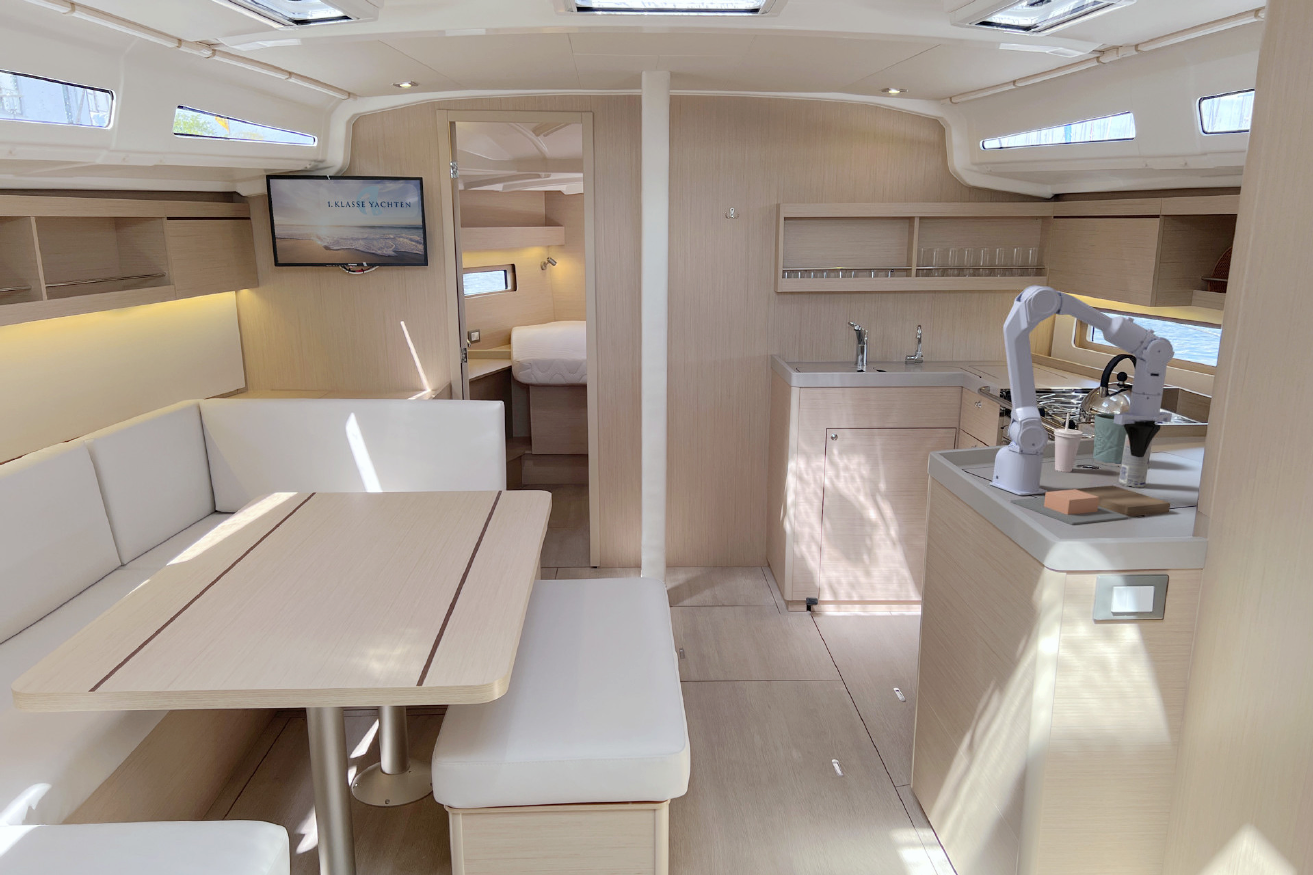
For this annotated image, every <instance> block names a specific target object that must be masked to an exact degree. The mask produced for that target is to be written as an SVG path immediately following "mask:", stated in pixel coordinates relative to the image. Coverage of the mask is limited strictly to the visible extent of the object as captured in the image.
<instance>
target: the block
mask: <svg viewBox="0 0 1313 875" xmlns="http://www.w3.org/2000/svg"><path fill="white" fill-rule="evenodd" d="M1073 489H1074V490H1071V489H1066V490H1054V491H1052V490H1051V491H1048V492H1046V493H1044V494H1045V495H1044V497H1045V502H1044V506H1045V507H1047V508H1050V509H1053V510H1056V511H1059V512H1061V513H1064V514H1067V515H1069V514H1078V513H1088V512H1097V509H1098V503H1099V497H1097V496H1094V495H1091V494H1088V493H1085V492H1082V491H1079V490H1076V489H1077V488H1073Z"/></svg>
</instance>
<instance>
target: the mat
mask: <svg viewBox="0 0 1313 875" xmlns="http://www.w3.org/2000/svg"><path fill="white" fill-rule="evenodd" d="M1010 502H1011V503H1012V504H1016V505H1018V506H1020V507H1022V508H1026V509H1027V510H1028V509H1029V510H1031V511H1034V512H1037V513H1040V514H1042V515H1045V516H1047V517H1050V518H1053V519H1056V520H1058V521H1061V522H1063V523H1066V524H1069V525H1071V526H1073V525H1074V526H1075V525H1085V524H1092V523H1102V522H1111V521H1112V522H1113V521H1119V520H1127V519H1130V517H1129V516H1126V515H1123V514H1120V513H1117V512H1114V511H1111V510H1108V509H1105V508H1102V507H1099V506H1098V509H1097V512H1088V513H1078V514H1069V515H1067V514H1064V513H1061V512H1059V511H1056V510H1053V509H1050V508H1047V507H1045V506H1044V502H1045V496H1043V497H1040V496H1039V497H1032V498H1020V499H1011V500H1010Z"/></svg>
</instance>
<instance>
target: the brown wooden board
mask: <svg viewBox="0 0 1313 875" xmlns="http://www.w3.org/2000/svg"><path fill="white" fill-rule="evenodd" d="M1074 489H1076V490H1079V491H1082V492H1085V493H1088V494H1091V495H1094V496H1097V497H1099V503H1098V506H1099V507H1102V508H1105V509H1108V510H1111V511H1114V512H1117V513H1120V514H1123V515H1126V516H1129V518H1130V517H1131V518H1132V517H1138V516H1148V515H1149V516H1151V515H1156V514H1167V513H1170V510H1171V509H1170V508H1171V502H1169V501H1165V500H1162V499H1159V498H1155V497H1153V496H1150V495H1145V494H1142V493H1139V492H1136V491H1134V490H1129V489H1126V488H1122V487H1120V486H1116V485H1113V484H1112V485H1102V486H1091V487H1080V488H1078V487H1077V488H1071V489H1070V490H1074Z"/></svg>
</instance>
